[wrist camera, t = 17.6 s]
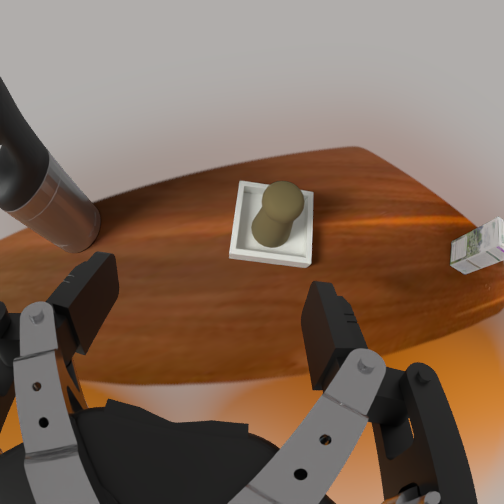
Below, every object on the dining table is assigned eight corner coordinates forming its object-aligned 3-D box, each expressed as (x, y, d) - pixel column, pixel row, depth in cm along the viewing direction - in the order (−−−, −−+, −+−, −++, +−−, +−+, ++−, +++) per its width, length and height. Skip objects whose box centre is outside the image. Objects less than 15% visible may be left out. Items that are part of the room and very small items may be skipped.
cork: (267, 203, 43) (280, 164, 33) (298, 226, 42) (320, 194, 32) (242, 230, 41) (249, 196, 31) (274, 256, 41) (292, 229, 30)
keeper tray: (229, 258, 41) (229, 253, 38) (238, 188, 44) (239, 180, 42) (306, 267, 41) (311, 263, 39) (308, 199, 45) (313, 192, 42)
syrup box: (465, 275, 44) (515, 257, 30) (448, 265, 44) (500, 243, 31) (466, 251, 46) (514, 229, 32) (450, 240, 46) (498, 214, 32)
